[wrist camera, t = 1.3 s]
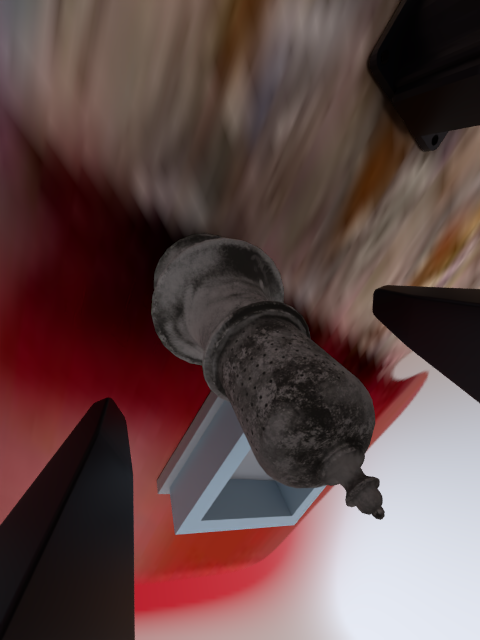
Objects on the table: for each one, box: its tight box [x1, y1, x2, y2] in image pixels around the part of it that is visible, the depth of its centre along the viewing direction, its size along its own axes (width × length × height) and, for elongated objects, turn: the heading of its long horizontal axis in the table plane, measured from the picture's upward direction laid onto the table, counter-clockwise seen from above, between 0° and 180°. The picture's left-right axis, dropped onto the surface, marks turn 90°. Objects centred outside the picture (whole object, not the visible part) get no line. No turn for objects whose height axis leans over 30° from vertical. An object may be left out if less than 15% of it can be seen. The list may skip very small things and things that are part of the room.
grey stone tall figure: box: [151, 233, 384, 520], centre depth 9 cm, size 6×6×12 cm
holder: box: [157, 391, 326, 535], centre depth 19 cm, size 12×12×4 cm
